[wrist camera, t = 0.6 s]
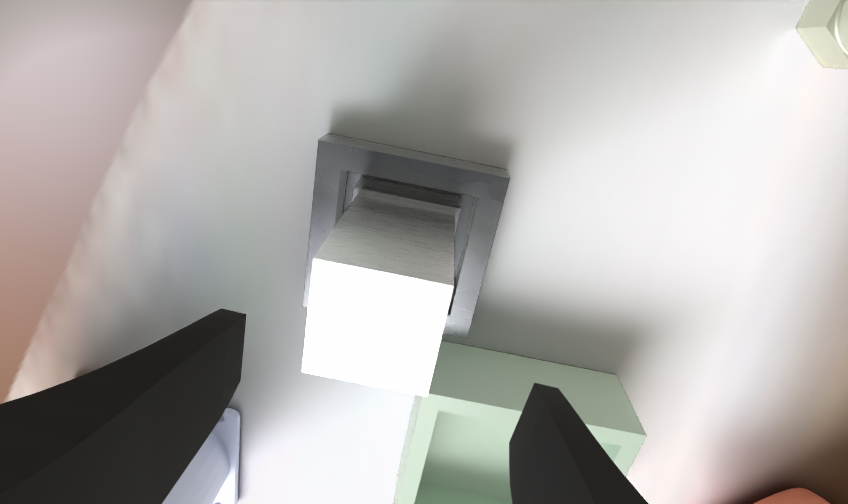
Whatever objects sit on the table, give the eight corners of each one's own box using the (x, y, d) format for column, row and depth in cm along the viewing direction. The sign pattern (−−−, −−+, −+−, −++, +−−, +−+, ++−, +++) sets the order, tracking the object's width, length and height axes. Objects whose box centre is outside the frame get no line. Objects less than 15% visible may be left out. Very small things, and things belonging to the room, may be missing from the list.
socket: (312, 290, 23) (302, 306, 21) (328, 133, 19) (318, 139, 18) (466, 320, 23) (466, 338, 21) (506, 169, 20) (510, 178, 18)
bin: (397, 474, 27) (388, 540, 23) (428, 338, 23) (423, 392, 20) (559, 505, 27) (575, 576, 24) (617, 375, 23) (646, 435, 20)
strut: (349, 267, 22) (295, 376, 15) (361, 177, 20) (306, 250, 13) (440, 285, 22) (432, 402, 15) (460, 197, 20) (462, 281, 13)
